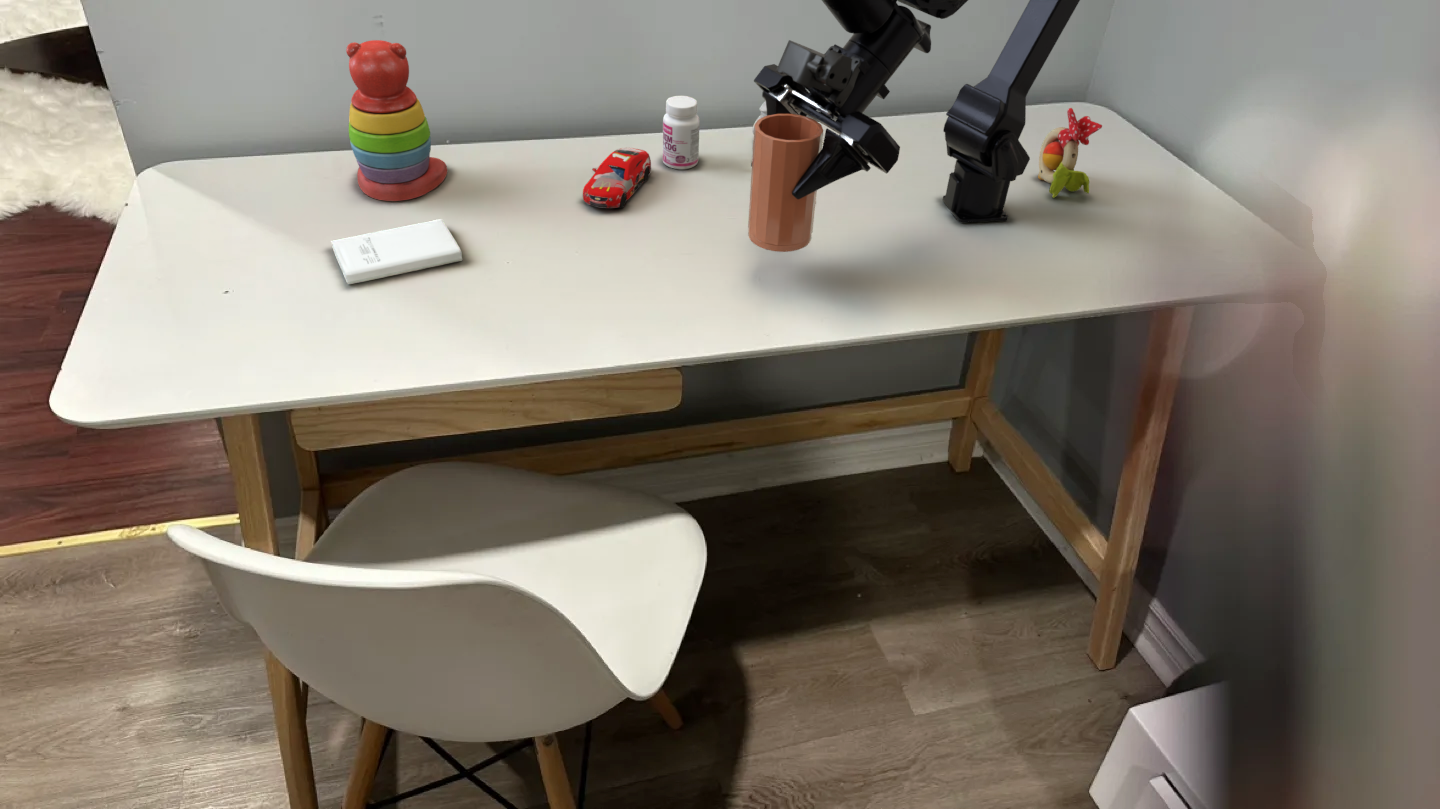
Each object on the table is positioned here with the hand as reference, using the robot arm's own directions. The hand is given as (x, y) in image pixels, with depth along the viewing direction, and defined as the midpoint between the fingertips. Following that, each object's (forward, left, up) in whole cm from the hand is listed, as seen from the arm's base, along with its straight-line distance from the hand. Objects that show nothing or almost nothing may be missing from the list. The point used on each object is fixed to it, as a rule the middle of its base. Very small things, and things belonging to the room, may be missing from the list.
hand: (773, 182), depth 104 cm
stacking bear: (+41, -27, -12) cm, 51 cm away
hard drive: (+40, -9, -12) cm, 43 cm away
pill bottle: (+5, -30, -12) cm, 32 cm away
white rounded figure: (-9, -35, -12) cm, 38 cm away
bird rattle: (-43, -18, -12) cm, 48 cm away
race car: (+14, -23, -12) cm, 29 cm away
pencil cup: (-1, -1, -7) cm, 7 cm away
